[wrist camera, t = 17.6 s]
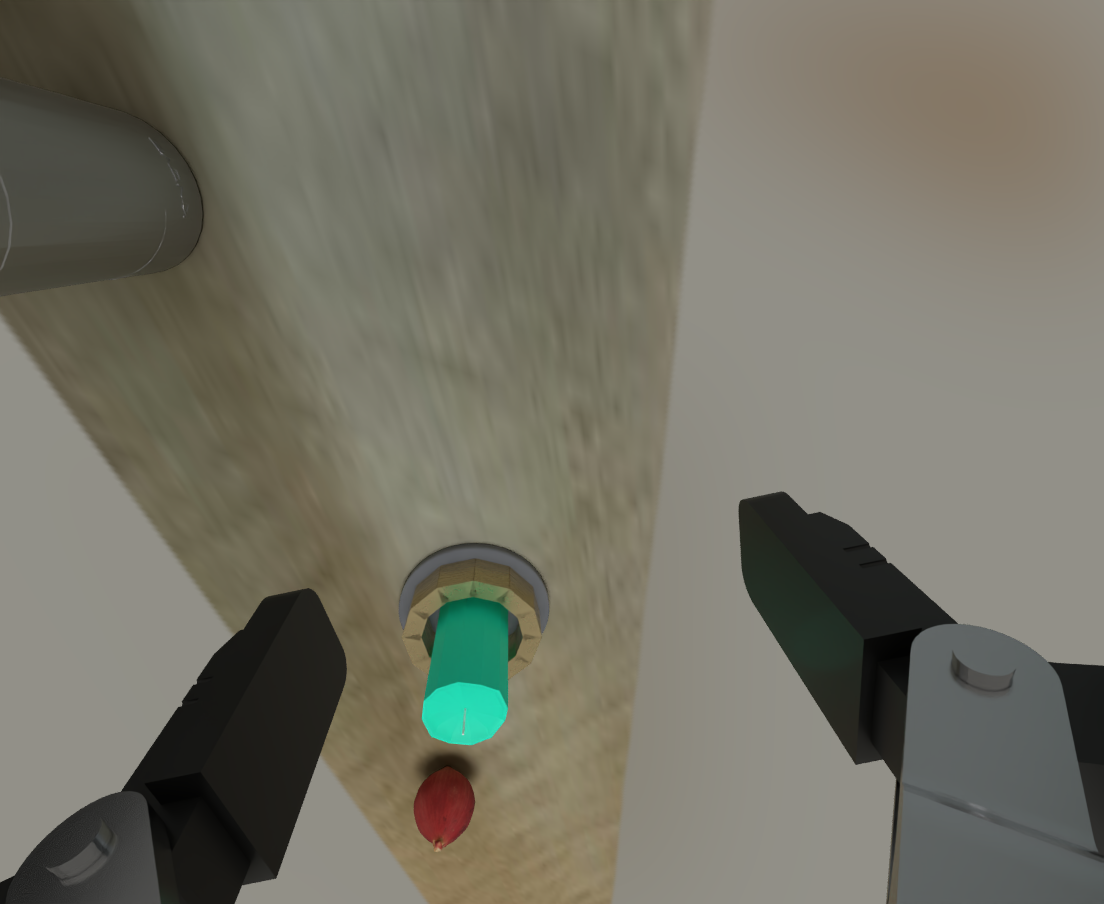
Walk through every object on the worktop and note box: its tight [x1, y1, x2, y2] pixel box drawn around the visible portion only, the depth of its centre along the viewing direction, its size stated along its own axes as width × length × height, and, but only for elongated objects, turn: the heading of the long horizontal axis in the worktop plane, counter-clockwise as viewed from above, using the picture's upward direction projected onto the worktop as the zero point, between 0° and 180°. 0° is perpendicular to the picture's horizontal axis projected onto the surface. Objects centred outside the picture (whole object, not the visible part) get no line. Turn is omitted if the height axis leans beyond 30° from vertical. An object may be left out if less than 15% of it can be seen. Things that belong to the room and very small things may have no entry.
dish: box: [399, 543, 549, 636], centre depth 47 cm, size 13×13×1 cm
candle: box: [422, 597, 508, 745], centre depth 41 cm, size 6×6×12 cm
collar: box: [402, 558, 542, 680], centre depth 45 cm, size 11×11×3 cm
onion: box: [414, 766, 475, 852], centre depth 52 cm, size 6×6×8 cm
